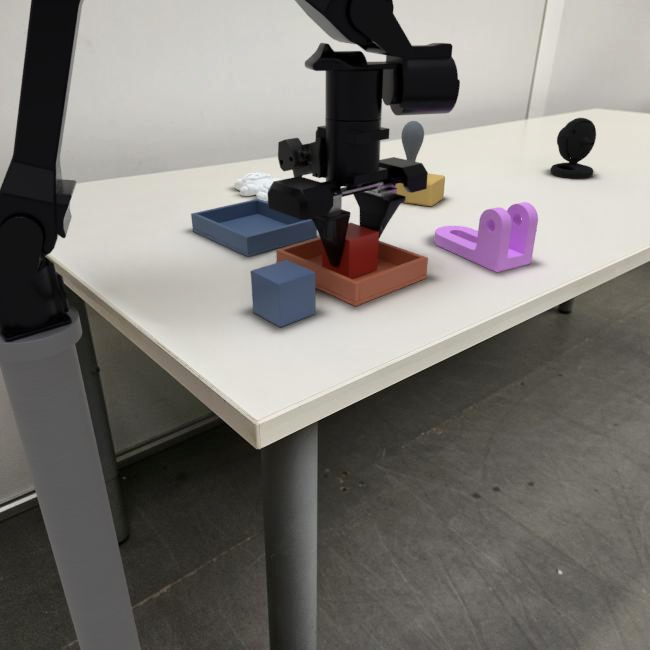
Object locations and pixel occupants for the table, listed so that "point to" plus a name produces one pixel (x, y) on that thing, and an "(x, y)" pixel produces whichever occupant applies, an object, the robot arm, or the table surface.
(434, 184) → the rubber stamp
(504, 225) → the bracket
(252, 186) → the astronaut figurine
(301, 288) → the blue block
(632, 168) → the table surface
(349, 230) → the red block
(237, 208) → the slate tray
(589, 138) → the webcam
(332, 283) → the terracotta tray
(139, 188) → the table surface
